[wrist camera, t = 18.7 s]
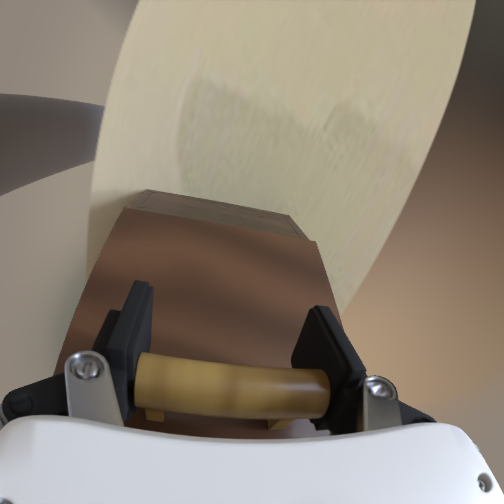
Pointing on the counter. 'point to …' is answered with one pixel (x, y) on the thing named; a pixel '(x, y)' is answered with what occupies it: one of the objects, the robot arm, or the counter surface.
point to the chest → (217, 213)
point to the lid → (212, 326)
